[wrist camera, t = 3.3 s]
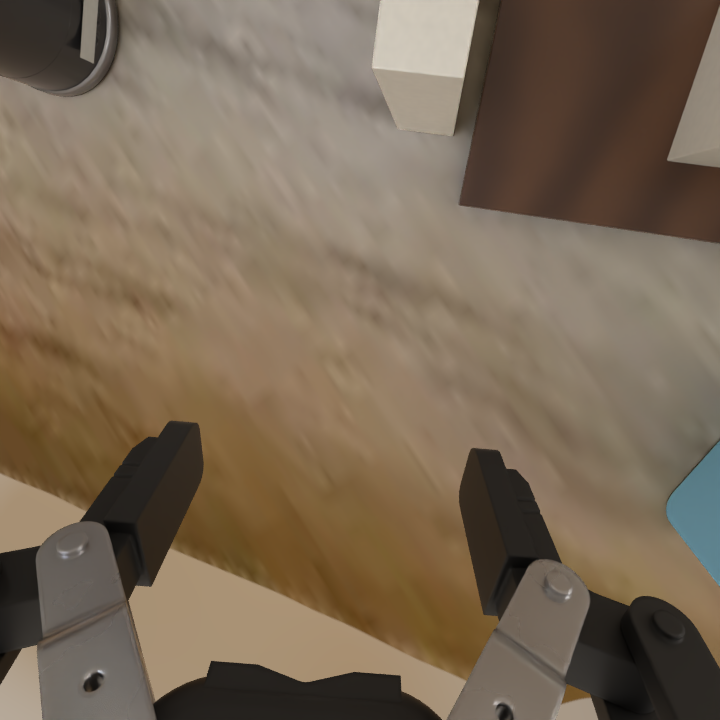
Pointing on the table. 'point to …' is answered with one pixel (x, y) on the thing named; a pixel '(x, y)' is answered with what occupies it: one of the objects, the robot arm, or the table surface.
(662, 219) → the dark wood bookend
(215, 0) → the table surface
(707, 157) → the cream rectangular block
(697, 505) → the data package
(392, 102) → the upright ivory block
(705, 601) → the table surface
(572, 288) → the table surface
